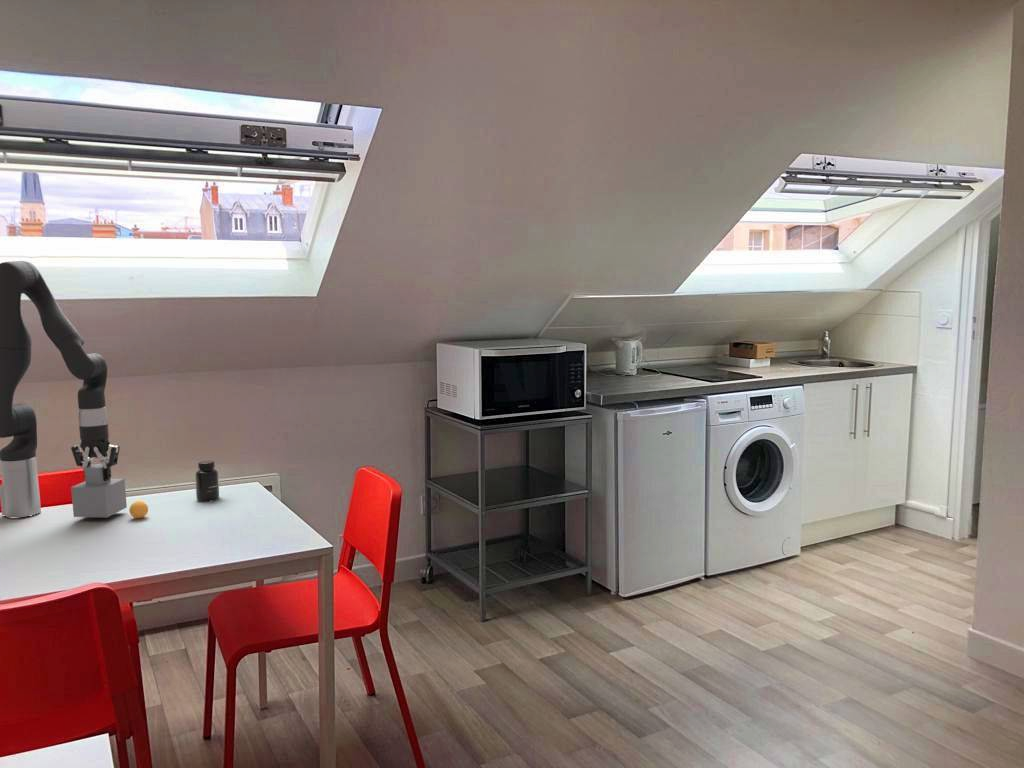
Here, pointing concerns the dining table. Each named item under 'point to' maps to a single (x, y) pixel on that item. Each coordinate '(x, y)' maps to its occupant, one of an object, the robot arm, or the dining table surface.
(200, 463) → the supplement bottle
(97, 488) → the stepped grey block
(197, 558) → the dining table surface
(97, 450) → the robot arm
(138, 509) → the ball
